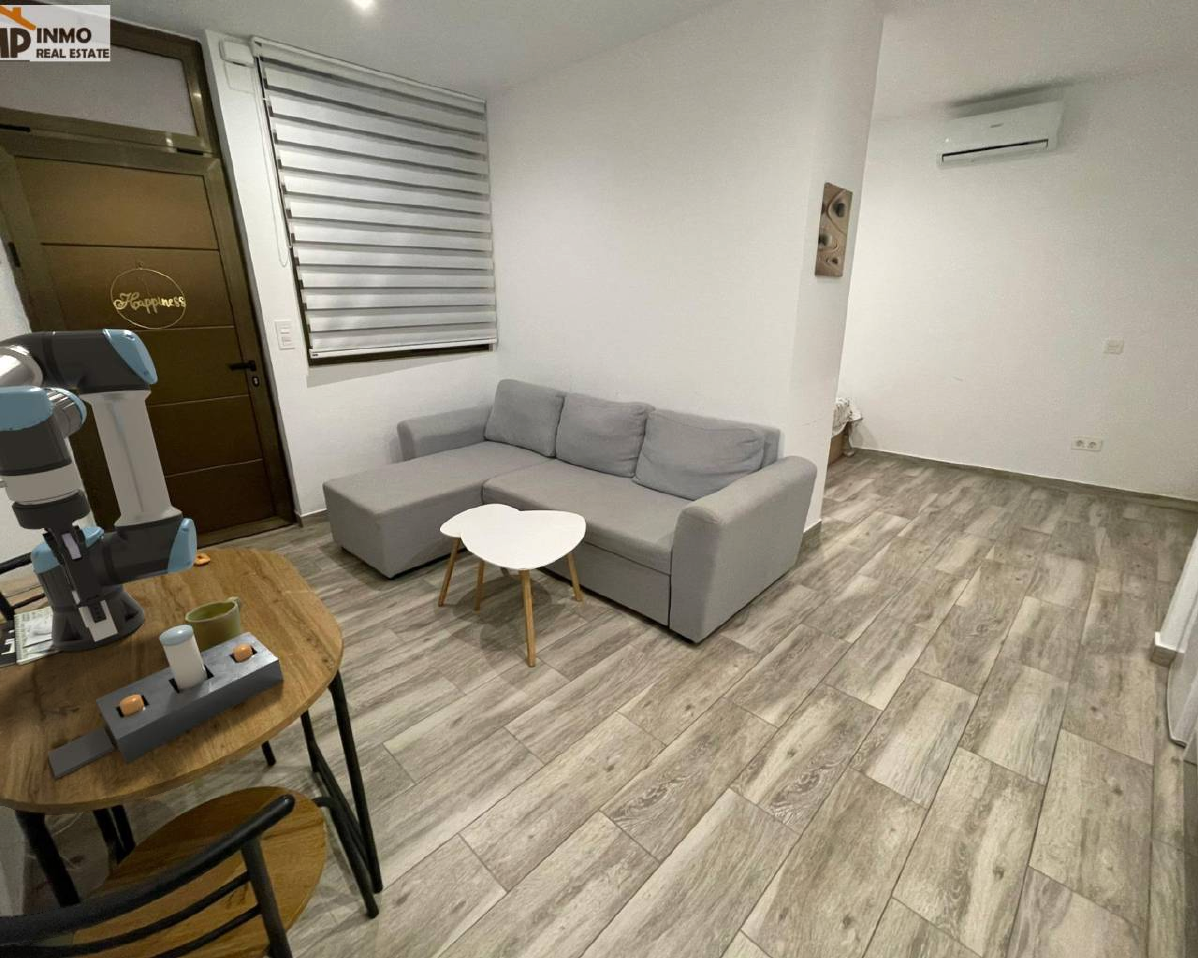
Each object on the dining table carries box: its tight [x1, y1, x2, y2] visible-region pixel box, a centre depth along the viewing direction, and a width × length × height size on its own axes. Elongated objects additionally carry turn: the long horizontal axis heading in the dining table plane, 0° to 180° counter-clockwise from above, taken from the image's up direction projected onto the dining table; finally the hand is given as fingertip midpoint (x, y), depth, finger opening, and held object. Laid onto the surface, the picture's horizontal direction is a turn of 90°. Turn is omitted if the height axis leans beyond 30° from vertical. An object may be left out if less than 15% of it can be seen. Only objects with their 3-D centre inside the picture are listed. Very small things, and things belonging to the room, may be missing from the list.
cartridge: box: [158, 624, 208, 693], centre depth 95 cm, size 5×5×15 cm
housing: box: [95, 631, 284, 764], centre depth 97 cm, size 14×24×5 cm, turn 142°
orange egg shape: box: [233, 644, 253, 663], centre depth 103 cm, size 3×3×6 cm
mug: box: [184, 596, 244, 653], centre depth 113 cm, size 12×10×10 cm
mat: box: [47, 726, 116, 780], centre depth 86 cm, size 7×7×1 cm
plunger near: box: [119, 695, 145, 717], centre depth 90 cm, size 3×3×6 cm
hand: (101, 629), depth 84 cm, fingers open, 5 cm apart
